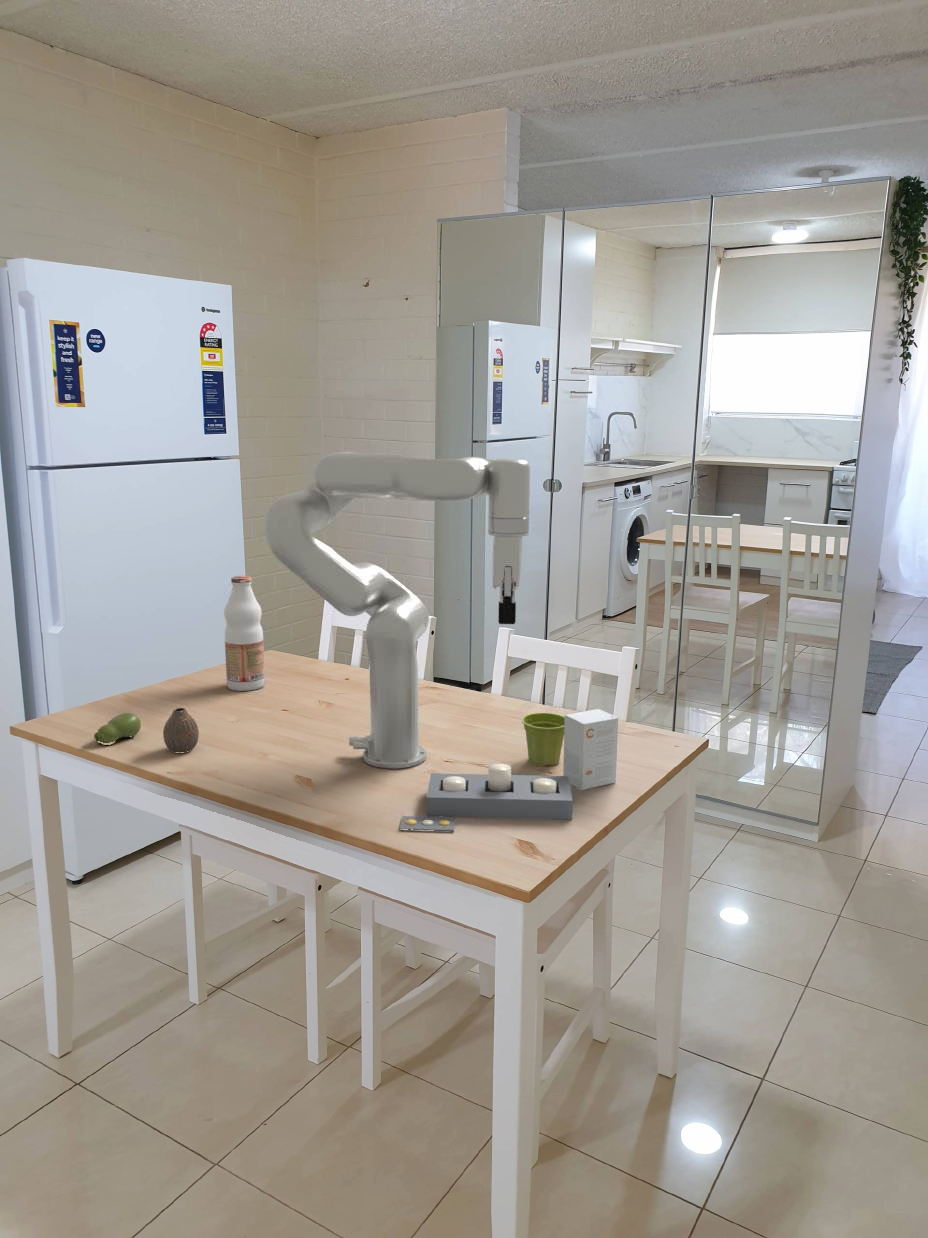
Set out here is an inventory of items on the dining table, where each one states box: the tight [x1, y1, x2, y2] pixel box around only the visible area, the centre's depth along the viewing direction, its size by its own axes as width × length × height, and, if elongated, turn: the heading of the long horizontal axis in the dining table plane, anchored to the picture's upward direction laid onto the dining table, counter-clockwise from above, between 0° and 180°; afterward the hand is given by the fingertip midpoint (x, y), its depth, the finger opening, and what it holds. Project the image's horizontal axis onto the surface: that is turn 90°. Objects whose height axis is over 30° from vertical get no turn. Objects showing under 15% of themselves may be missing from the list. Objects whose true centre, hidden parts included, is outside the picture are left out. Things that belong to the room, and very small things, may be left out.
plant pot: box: [521, 712, 565, 767], centre depth 187 cm, size 9×9×9 cm
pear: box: [93, 712, 142, 743], centre depth 198 cm, size 6×5×10 cm
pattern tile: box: [399, 815, 456, 833], centre depth 158 cm, size 9×5×1 cm, turn 88°
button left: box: [443, 776, 466, 791], centre depth 167 cm, size 4×4×4 cm
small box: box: [562, 708, 619, 791], centre depth 177 cm, size 8×6×13 cm
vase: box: [162, 707, 200, 753], centre depth 192 cm, size 7×7×9 cm
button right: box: [533, 778, 556, 793], centre depth 166 cm, size 4×4×4 cm
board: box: [425, 772, 574, 821], centre depth 167 cm, size 25×11×4 cm, turn 88°
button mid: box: [487, 763, 512, 791], centre depth 166 cm, size 4×4×4 cm
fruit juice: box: [223, 575, 266, 692], centre depth 235 cm, size 9×9×28 cm
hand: (506, 622), depth 178 cm, fingers closed
